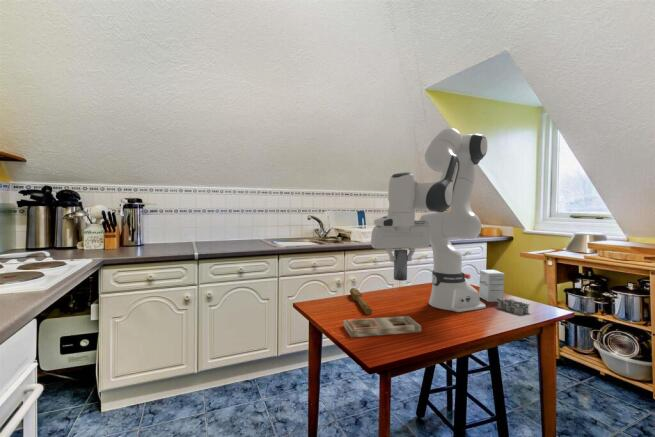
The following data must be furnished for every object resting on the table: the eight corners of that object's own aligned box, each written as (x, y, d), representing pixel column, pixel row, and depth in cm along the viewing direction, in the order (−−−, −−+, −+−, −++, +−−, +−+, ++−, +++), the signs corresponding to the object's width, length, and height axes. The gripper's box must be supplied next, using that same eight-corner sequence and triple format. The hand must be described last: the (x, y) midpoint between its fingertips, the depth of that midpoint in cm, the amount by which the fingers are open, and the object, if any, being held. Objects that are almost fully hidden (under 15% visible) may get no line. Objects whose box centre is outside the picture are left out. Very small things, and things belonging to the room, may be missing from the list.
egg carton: (494, 307, 140) (495, 297, 139) (507, 305, 143) (508, 295, 142) (518, 315, 130) (518, 305, 130) (531, 313, 133) (532, 303, 133)
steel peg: (403, 277, 118) (404, 248, 118) (409, 280, 114) (409, 250, 113) (391, 277, 117) (392, 249, 117) (396, 280, 113) (397, 251, 112)
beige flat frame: (408, 321, 122) (408, 315, 122) (421, 331, 113) (421, 325, 112) (343, 325, 118) (343, 319, 118) (351, 337, 108) (351, 330, 108)
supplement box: (478, 297, 154) (479, 269, 153) (494, 296, 154) (495, 269, 154) (487, 302, 146) (488, 273, 146) (503, 301, 147) (504, 272, 146)
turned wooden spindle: (364, 307, 129) (349, 287, 159) (364, 315, 129) (349, 293, 159) (372, 307, 130) (355, 287, 159) (372, 315, 130) (355, 293, 159)
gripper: (425, 219, 120) (424, 258, 120) (369, 220, 116) (369, 260, 116) (434, 220, 113) (433, 261, 114) (375, 221, 109) (375, 263, 110)
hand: (400, 261), depth 115 cm, fingers closed on steel peg, 4 cm apart
